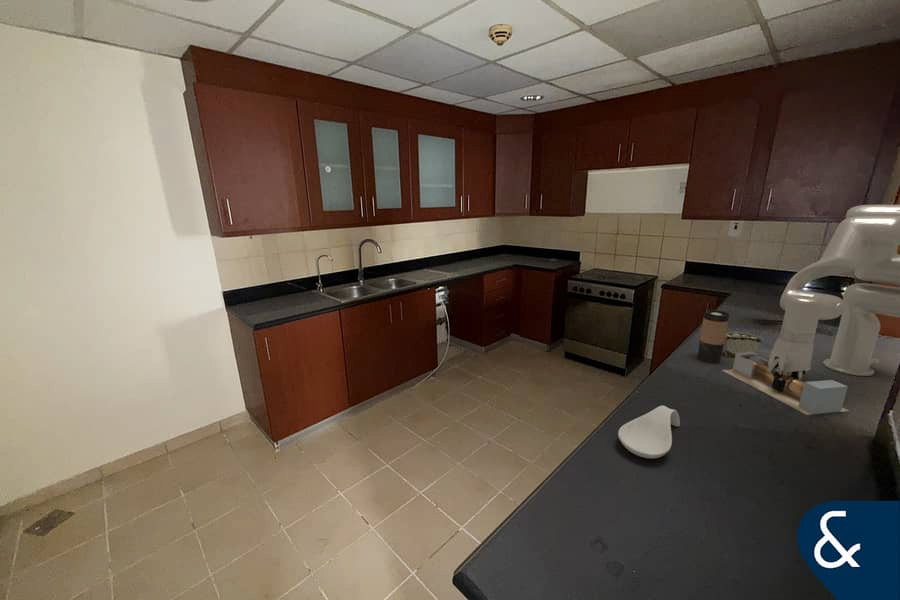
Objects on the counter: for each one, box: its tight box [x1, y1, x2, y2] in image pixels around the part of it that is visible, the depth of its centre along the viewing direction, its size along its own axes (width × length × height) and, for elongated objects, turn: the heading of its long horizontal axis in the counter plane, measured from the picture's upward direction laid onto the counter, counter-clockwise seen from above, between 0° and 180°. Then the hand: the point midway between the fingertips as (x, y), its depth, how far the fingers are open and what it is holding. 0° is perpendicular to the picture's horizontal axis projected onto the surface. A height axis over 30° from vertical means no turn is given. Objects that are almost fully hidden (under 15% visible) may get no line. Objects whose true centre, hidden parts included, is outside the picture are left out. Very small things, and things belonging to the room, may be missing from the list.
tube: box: [754, 362, 805, 396], centre depth 116 cm, size 18×4×4 cm, turn 6°
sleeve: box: [732, 352, 769, 380], centre depth 126 cm, size 7×7×7 cm
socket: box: [799, 379, 849, 415], centre depth 105 cm, size 9×4×8 cm, turn 96°
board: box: [722, 368, 850, 416], centre depth 118 cm, size 14×29×1 cm, turn 6°
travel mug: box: [697, 309, 730, 365], centre depth 138 cm, size 8×8×20 cm
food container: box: [724, 331, 764, 359], centre depth 142 cm, size 12×6×10 cm, turn 71°
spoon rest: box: [617, 405, 681, 459], centre depth 95 cm, size 24×12×7 cm, turn 130°
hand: (784, 389), depth 116 cm, fingers closed on tube, 4 cm apart
